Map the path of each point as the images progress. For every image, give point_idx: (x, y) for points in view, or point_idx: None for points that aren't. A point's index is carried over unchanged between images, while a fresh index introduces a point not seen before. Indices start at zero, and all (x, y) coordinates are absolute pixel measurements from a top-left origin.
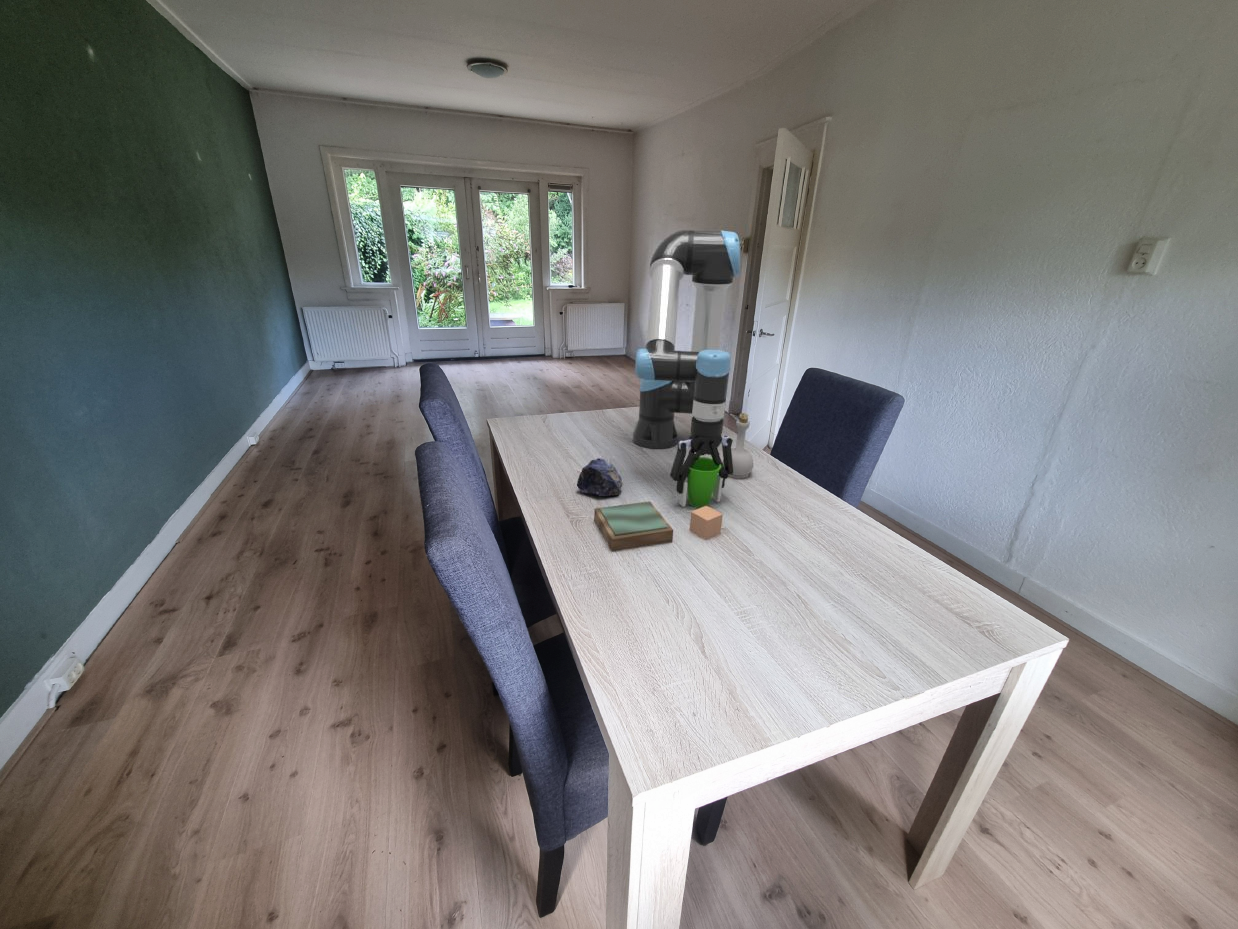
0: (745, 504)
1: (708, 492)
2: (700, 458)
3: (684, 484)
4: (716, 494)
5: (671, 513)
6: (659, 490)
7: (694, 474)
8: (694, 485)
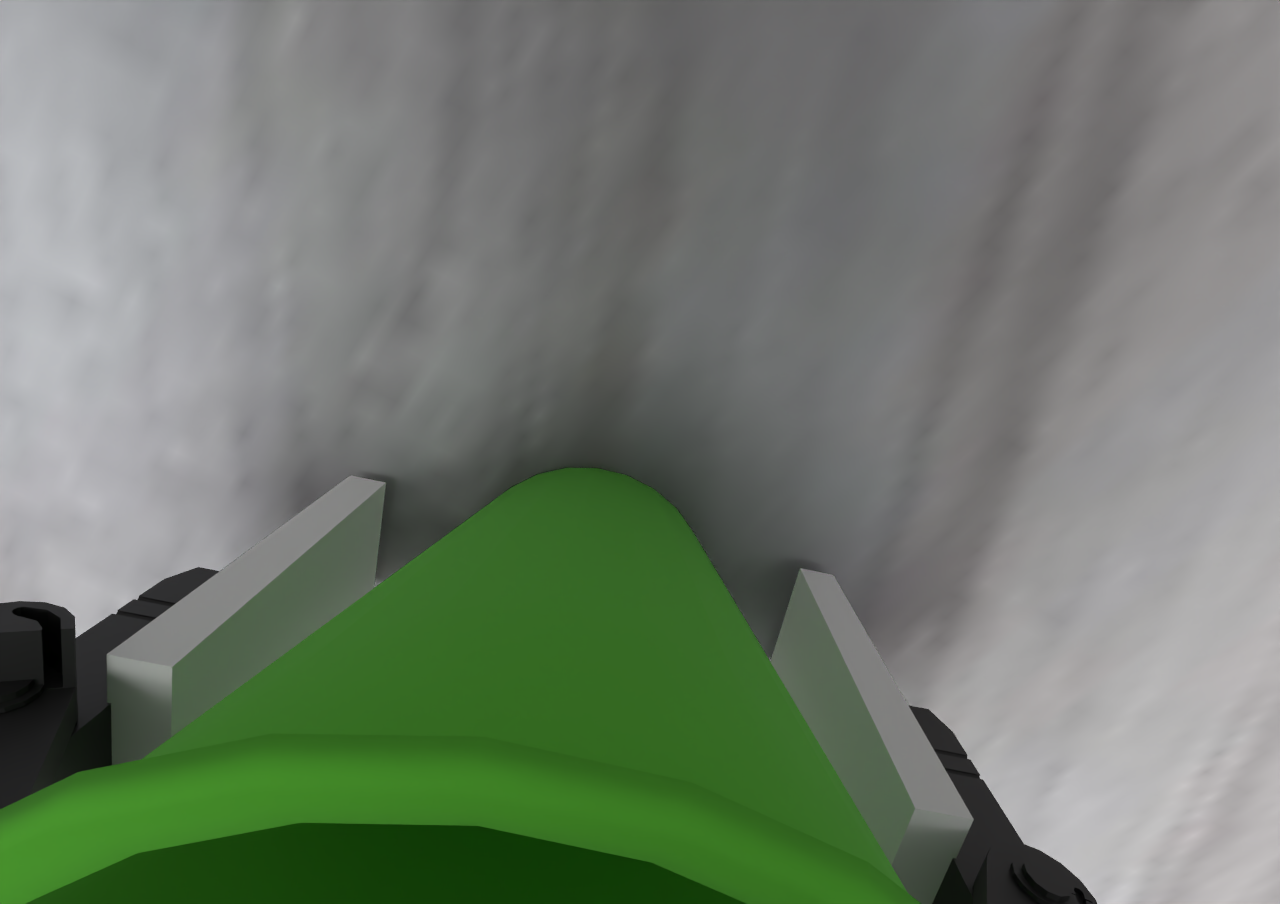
0: (1004, 791)
1: (558, 860)
2: (755, 902)
3: None
4: (790, 690)
5: None
6: (310, 26)
7: None
8: (317, 864)
